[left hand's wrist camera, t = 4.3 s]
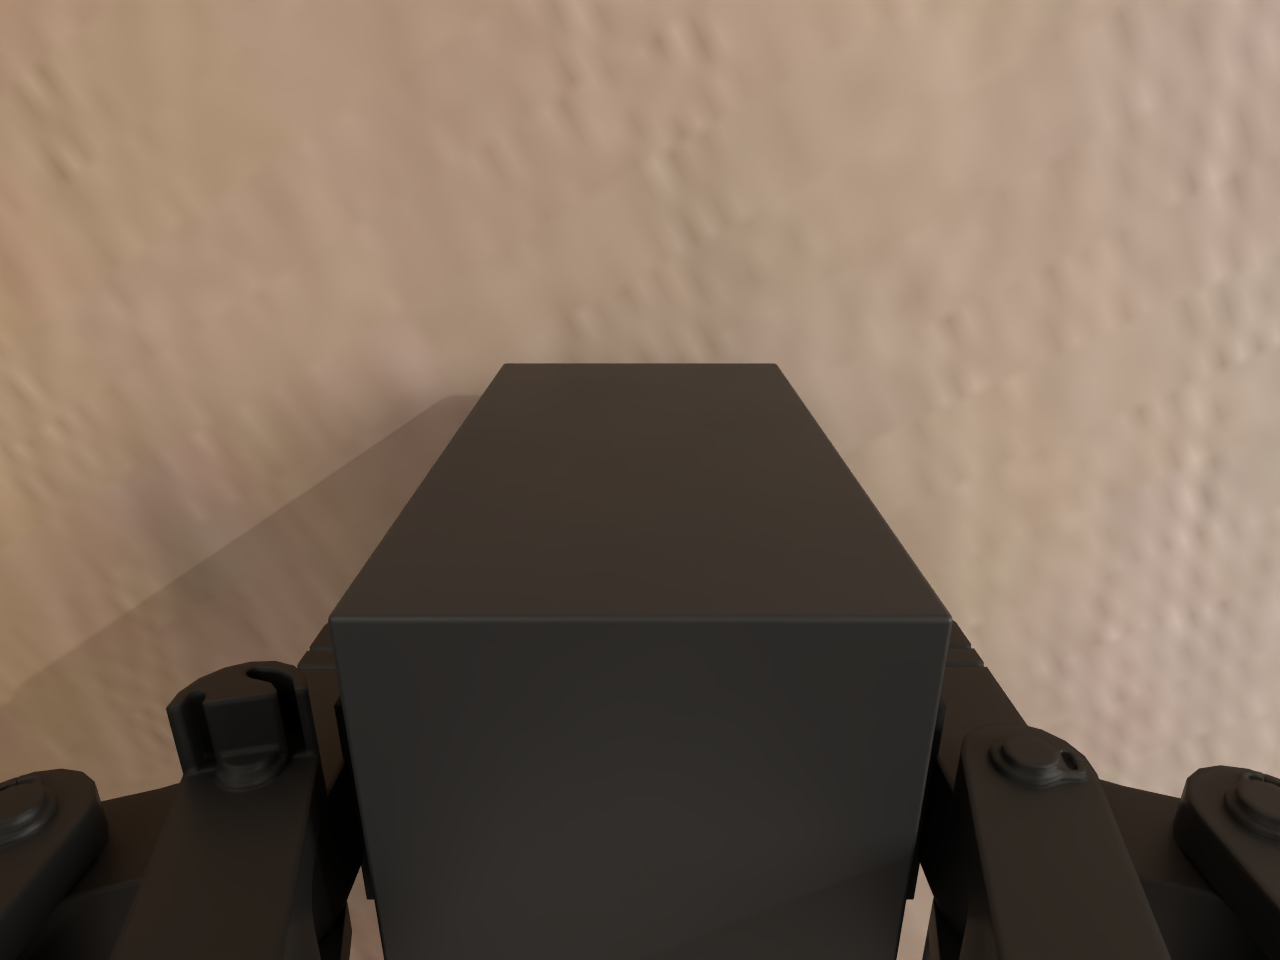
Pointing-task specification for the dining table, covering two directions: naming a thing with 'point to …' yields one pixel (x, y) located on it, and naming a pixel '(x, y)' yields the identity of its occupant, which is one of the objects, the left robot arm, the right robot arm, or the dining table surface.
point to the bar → (640, 681)
